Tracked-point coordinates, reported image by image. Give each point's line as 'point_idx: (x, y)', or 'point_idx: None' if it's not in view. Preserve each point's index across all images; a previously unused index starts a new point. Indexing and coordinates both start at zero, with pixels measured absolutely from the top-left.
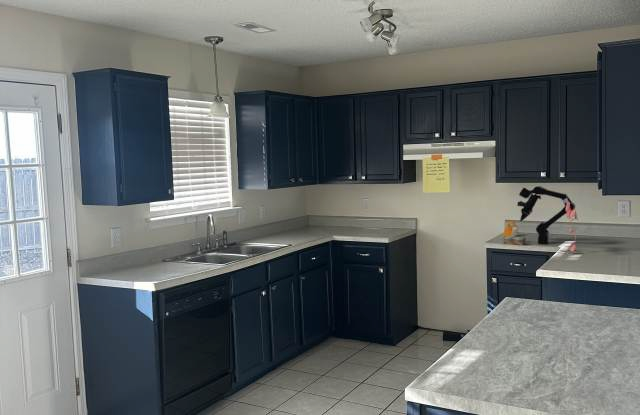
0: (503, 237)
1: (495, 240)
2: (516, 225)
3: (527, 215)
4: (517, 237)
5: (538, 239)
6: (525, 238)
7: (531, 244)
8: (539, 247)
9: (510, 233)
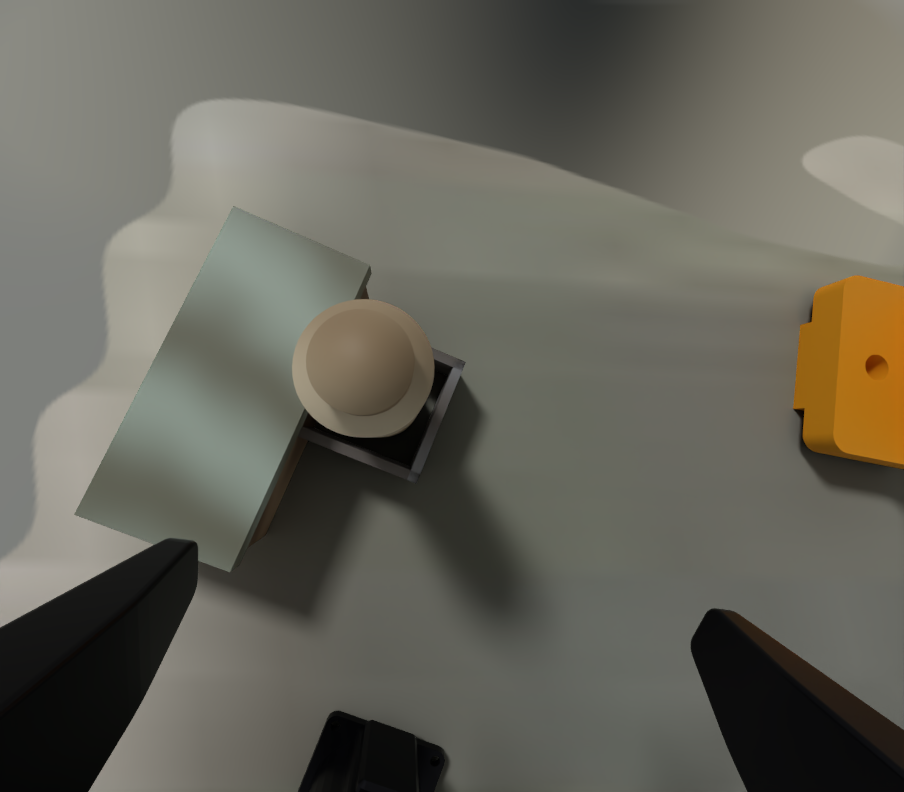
0: (232, 215)
1: (523, 186)
2: (350, 403)
3: None
4: (219, 430)
5: (359, 760)
6: (216, 561)
7: (269, 619)
8: None
9: (886, 368)
